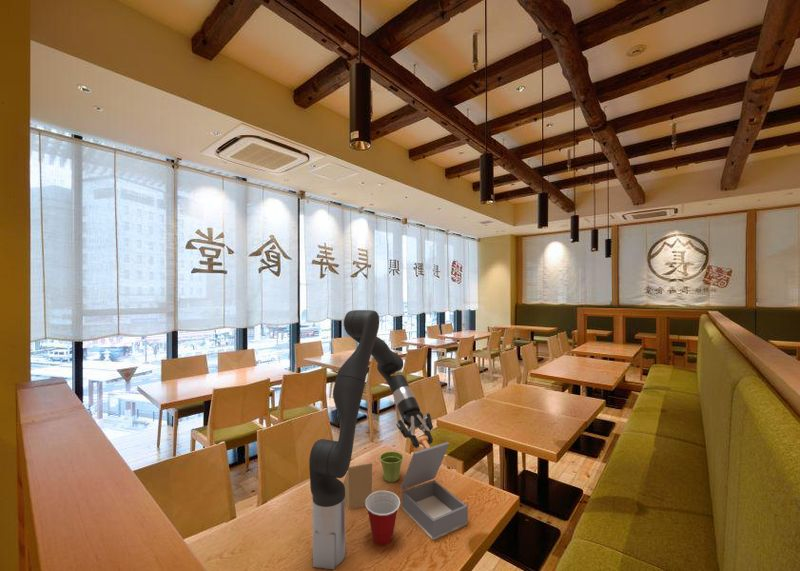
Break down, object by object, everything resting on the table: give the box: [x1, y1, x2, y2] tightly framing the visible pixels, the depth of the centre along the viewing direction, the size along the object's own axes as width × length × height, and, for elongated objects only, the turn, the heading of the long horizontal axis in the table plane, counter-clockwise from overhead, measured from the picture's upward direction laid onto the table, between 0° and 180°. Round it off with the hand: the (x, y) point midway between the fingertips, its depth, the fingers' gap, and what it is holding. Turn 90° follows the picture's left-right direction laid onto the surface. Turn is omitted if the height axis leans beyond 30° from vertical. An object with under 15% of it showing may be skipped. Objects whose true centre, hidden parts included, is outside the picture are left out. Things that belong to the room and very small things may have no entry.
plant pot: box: [379, 451, 404, 483], centre depth 145 cm, size 9×9×9 cm
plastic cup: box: [364, 490, 401, 546], centre depth 111 cm, size 11×11×12 cm
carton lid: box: [400, 434, 450, 491], centre depth 128 cm, size 18×14×7 cm
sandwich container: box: [342, 462, 373, 510], centre depth 134 cm, size 9×15×15 cm, turn 18°
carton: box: [401, 479, 469, 542], centre depth 122 cm, size 18×14×6 cm
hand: (424, 445), depth 126 cm, fingers closed on carton lid, 5 cm apart
